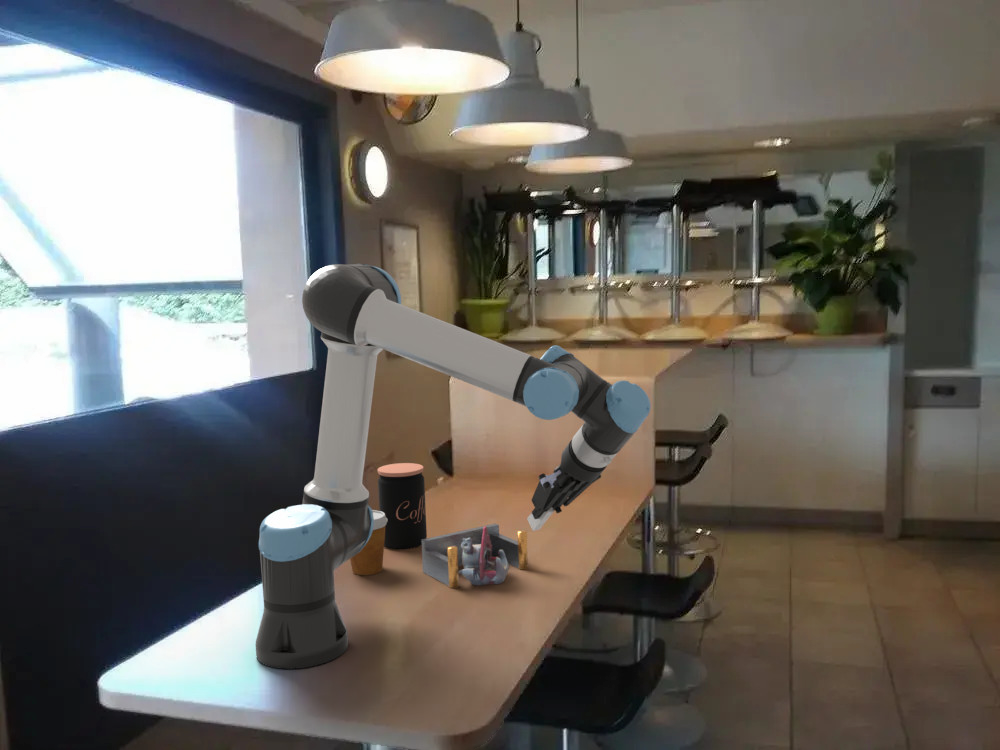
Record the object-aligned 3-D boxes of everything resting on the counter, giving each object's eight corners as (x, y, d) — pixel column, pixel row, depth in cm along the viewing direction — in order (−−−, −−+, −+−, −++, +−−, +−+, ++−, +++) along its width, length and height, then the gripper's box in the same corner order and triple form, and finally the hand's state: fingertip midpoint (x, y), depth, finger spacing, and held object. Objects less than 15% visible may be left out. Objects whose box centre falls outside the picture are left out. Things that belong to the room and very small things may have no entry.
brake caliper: (515, 577, 172) (477, 530, 172) (473, 609, 174) (435, 562, 174) (522, 559, 183) (486, 514, 183) (482, 589, 185) (447, 544, 185)
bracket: (452, 588, 173) (450, 549, 173) (421, 572, 184) (420, 535, 183) (530, 568, 184) (528, 531, 183) (497, 553, 194) (495, 518, 193)
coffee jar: (398, 553, 197) (394, 475, 195) (372, 543, 205) (368, 468, 203) (436, 543, 204) (432, 467, 202) (409, 533, 212) (406, 460, 210)
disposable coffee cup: (335, 571, 186) (332, 516, 185) (370, 560, 193) (368, 507, 192) (363, 581, 180) (360, 524, 178) (399, 569, 186) (396, 514, 185)
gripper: (569, 475, 144) (512, 547, 160) (628, 465, 151) (569, 535, 167) (550, 438, 148) (496, 512, 164) (608, 430, 155) (552, 502, 171)
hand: (533, 524), depth 165 cm, fingers closed
